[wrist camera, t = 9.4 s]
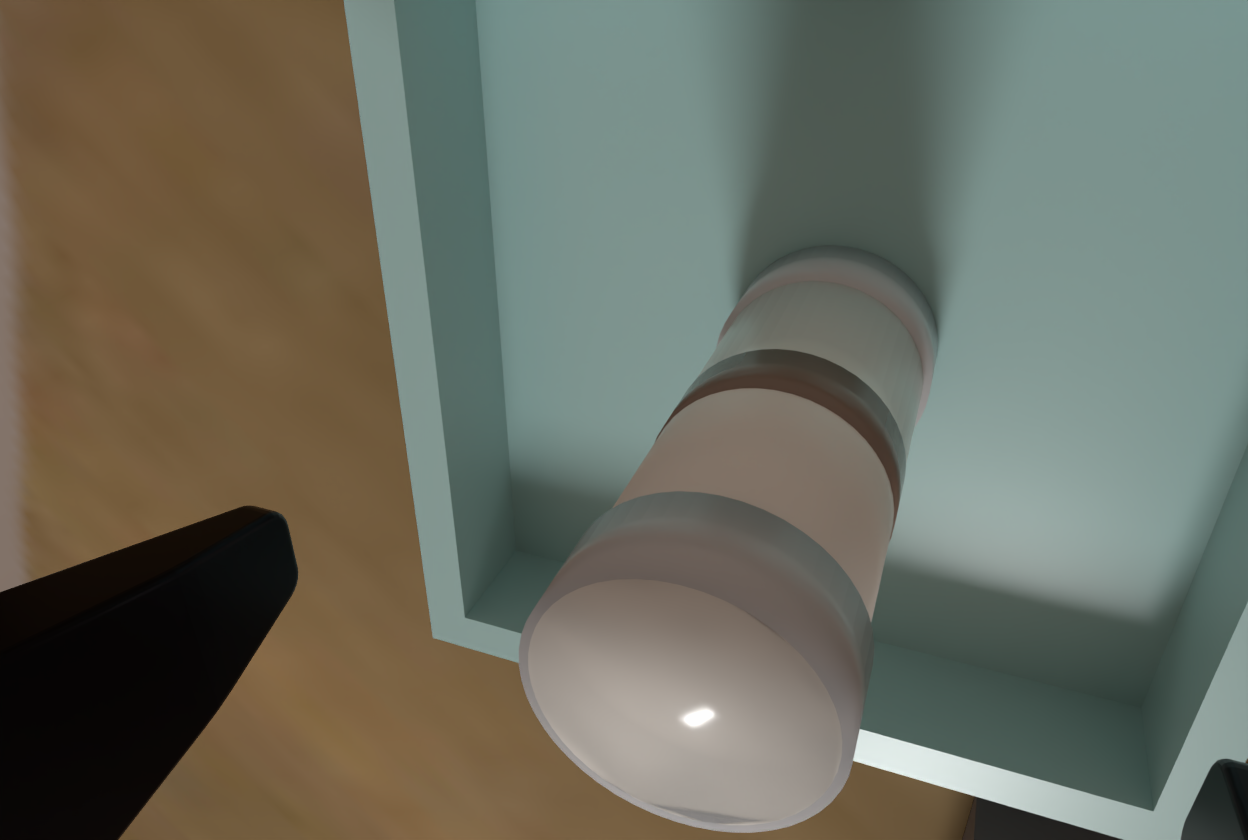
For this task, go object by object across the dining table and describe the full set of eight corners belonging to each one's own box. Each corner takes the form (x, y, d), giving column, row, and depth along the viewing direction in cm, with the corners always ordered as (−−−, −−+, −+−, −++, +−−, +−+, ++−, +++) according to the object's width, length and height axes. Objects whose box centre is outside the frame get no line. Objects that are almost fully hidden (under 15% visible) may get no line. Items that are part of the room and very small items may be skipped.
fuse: (955, 259, 14) (876, 623, 7) (921, 444, 15) (833, 872, 9) (740, 233, 15) (506, 533, 8) (730, 410, 16) (529, 774, 10)
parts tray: (1557, -167, 10) (1718, -175, 8) (1173, 719, 17) (1195, 860, 15) (442, -160, 14) (320, -164, 12) (502, 549, 21) (433, 637, 19)
